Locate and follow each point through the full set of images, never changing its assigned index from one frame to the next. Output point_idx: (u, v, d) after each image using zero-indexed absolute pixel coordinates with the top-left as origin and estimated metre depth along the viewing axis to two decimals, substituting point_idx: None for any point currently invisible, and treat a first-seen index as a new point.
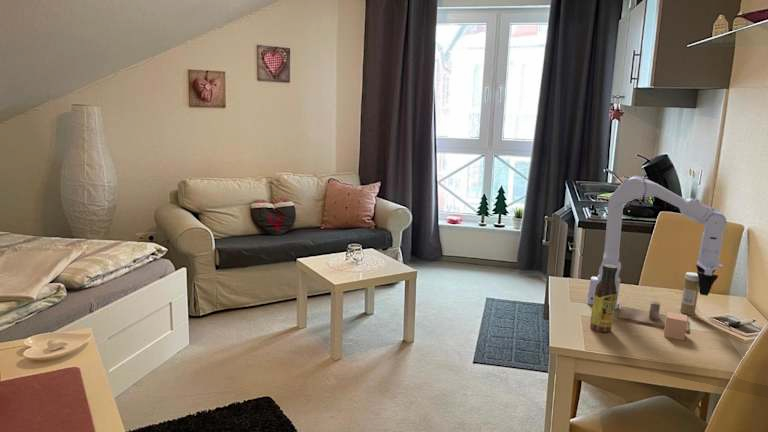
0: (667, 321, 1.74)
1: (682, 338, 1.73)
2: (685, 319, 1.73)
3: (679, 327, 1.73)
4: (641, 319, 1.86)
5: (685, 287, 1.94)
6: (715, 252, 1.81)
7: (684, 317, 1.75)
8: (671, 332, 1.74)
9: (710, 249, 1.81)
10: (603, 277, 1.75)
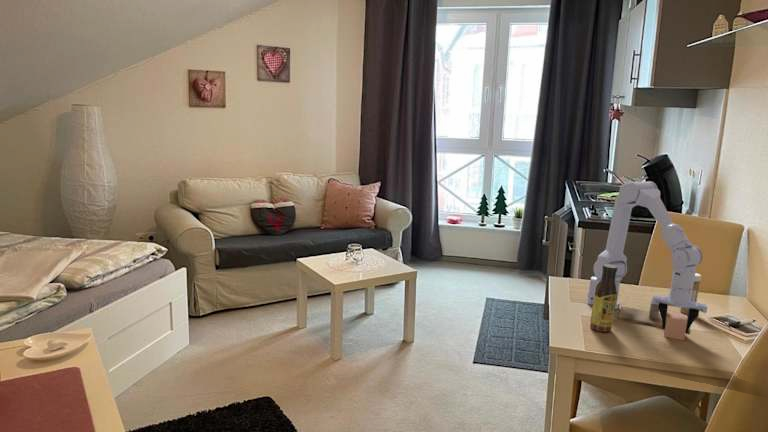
0: (667, 321, 1.74)
1: (682, 338, 1.73)
2: (685, 319, 1.73)
3: (679, 327, 1.73)
4: (641, 319, 1.86)
5: None
6: (672, 286, 1.73)
7: (684, 317, 1.75)
8: (671, 332, 1.74)
9: (674, 285, 1.72)
10: (603, 277, 1.75)
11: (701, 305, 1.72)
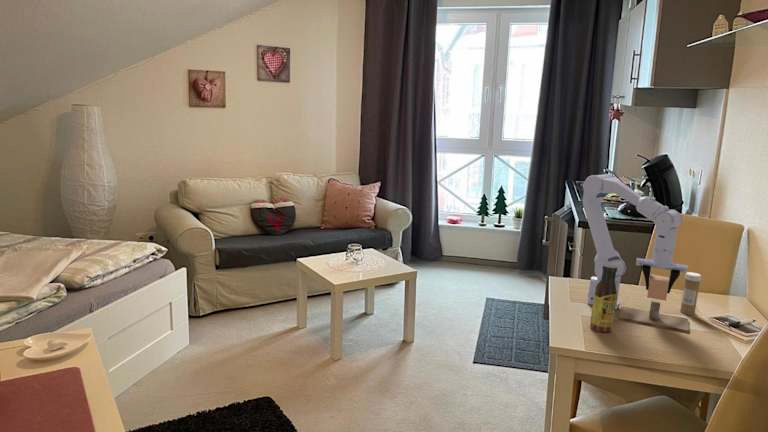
0: (650, 283, 1.83)
1: (664, 298, 1.83)
2: (667, 280, 1.82)
3: (662, 288, 1.82)
4: (641, 319, 1.86)
5: (685, 287, 1.94)
6: (654, 248, 1.83)
7: (666, 279, 1.84)
8: (654, 293, 1.84)
9: (659, 247, 1.81)
10: (603, 277, 1.75)
11: (682, 266, 1.81)
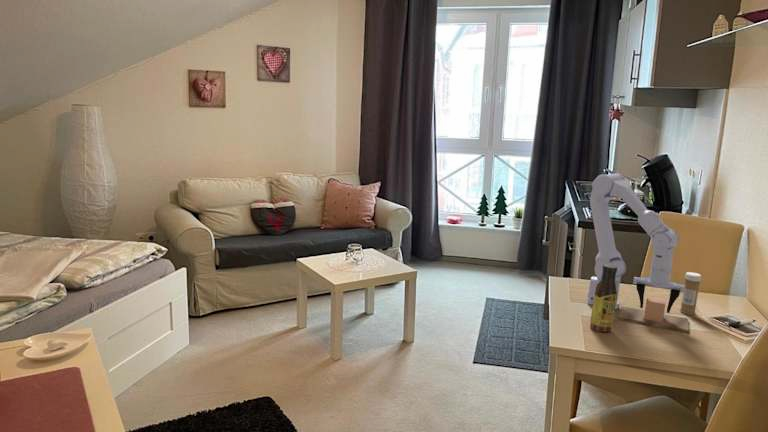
0: (647, 304, 1.85)
1: (661, 320, 1.84)
2: (663, 302, 1.84)
3: (658, 310, 1.84)
4: (641, 319, 1.86)
5: (685, 287, 1.94)
6: (652, 268, 1.84)
7: (662, 300, 1.86)
8: (650, 315, 1.85)
9: (656, 267, 1.82)
10: (603, 277, 1.75)
11: (679, 285, 1.83)
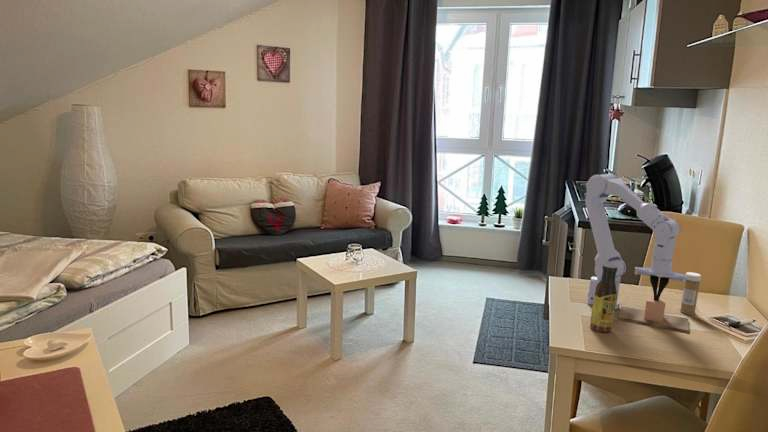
0: (647, 304, 1.85)
1: (661, 320, 1.84)
2: (663, 302, 1.84)
3: (658, 310, 1.84)
4: (641, 319, 1.86)
5: (685, 287, 1.94)
6: (653, 257, 1.83)
7: (662, 300, 1.86)
8: (650, 315, 1.85)
9: (657, 257, 1.82)
10: (603, 277, 1.75)
11: (681, 275, 1.82)
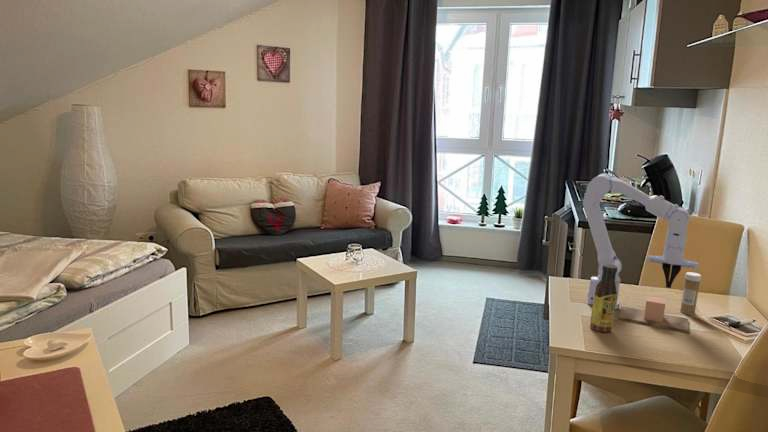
0: (647, 304, 1.85)
1: (661, 320, 1.84)
2: (663, 302, 1.84)
3: (658, 310, 1.84)
4: (641, 319, 1.86)
5: (685, 287, 1.94)
6: (665, 245, 1.87)
7: (662, 300, 1.86)
8: (650, 315, 1.85)
9: (673, 245, 1.84)
10: (603, 277, 1.75)
11: (692, 262, 1.85)
